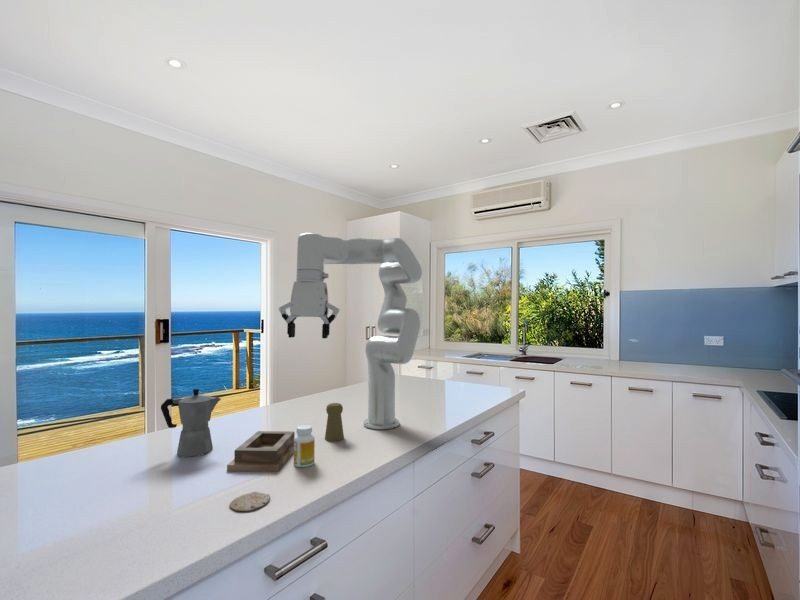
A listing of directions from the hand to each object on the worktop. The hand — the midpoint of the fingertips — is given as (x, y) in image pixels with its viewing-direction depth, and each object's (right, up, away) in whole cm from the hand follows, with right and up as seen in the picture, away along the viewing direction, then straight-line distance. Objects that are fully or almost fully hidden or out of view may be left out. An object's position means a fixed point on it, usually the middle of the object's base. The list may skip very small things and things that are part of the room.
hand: (308, 337), depth 112 cm
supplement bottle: (0, -33, -6) cm, 34 cm away
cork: (+5, -34, +14) cm, 37 cm away
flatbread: (-6, -33, -28) cm, 43 cm away
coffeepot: (-34, -33, +2) cm, 48 cm away
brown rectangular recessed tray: (-11, -33, -1) cm, 35 cm away
